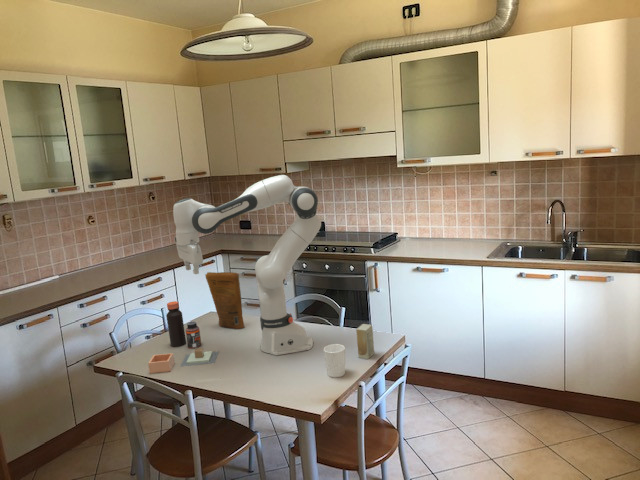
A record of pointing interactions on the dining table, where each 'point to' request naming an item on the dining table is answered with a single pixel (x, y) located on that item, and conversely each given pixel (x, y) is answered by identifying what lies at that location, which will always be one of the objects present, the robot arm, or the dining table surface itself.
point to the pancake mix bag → (226, 298)
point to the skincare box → (365, 341)
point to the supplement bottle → (193, 335)
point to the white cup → (335, 360)
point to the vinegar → (175, 325)
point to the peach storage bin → (161, 363)
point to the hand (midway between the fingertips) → (192, 271)
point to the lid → (199, 357)
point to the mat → (212, 360)
